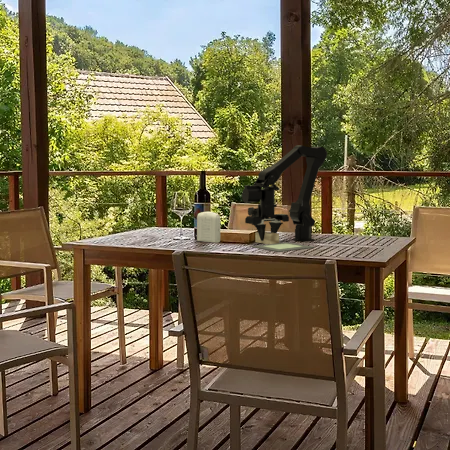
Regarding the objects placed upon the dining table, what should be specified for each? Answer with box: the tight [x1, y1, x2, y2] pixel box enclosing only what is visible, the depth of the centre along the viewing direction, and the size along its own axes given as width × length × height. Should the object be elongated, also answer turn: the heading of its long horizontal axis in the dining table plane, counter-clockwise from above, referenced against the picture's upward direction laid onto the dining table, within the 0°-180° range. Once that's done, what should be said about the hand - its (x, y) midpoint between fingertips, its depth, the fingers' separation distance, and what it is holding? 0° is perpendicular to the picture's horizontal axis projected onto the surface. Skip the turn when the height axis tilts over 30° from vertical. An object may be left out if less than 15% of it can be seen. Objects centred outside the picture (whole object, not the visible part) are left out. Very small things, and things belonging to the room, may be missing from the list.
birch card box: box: [254, 231, 280, 245], centre depth 282 cm, size 5×9×4 cm, turn 36°
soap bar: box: [196, 211, 221, 244], centre depth 285 cm, size 10×4×12 cm, turn 56°
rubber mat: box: [251, 241, 315, 253], centre depth 269 cm, size 18×16×1 cm
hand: (267, 240), depth 282 cm, fingers closed on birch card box, 5 cm apart
